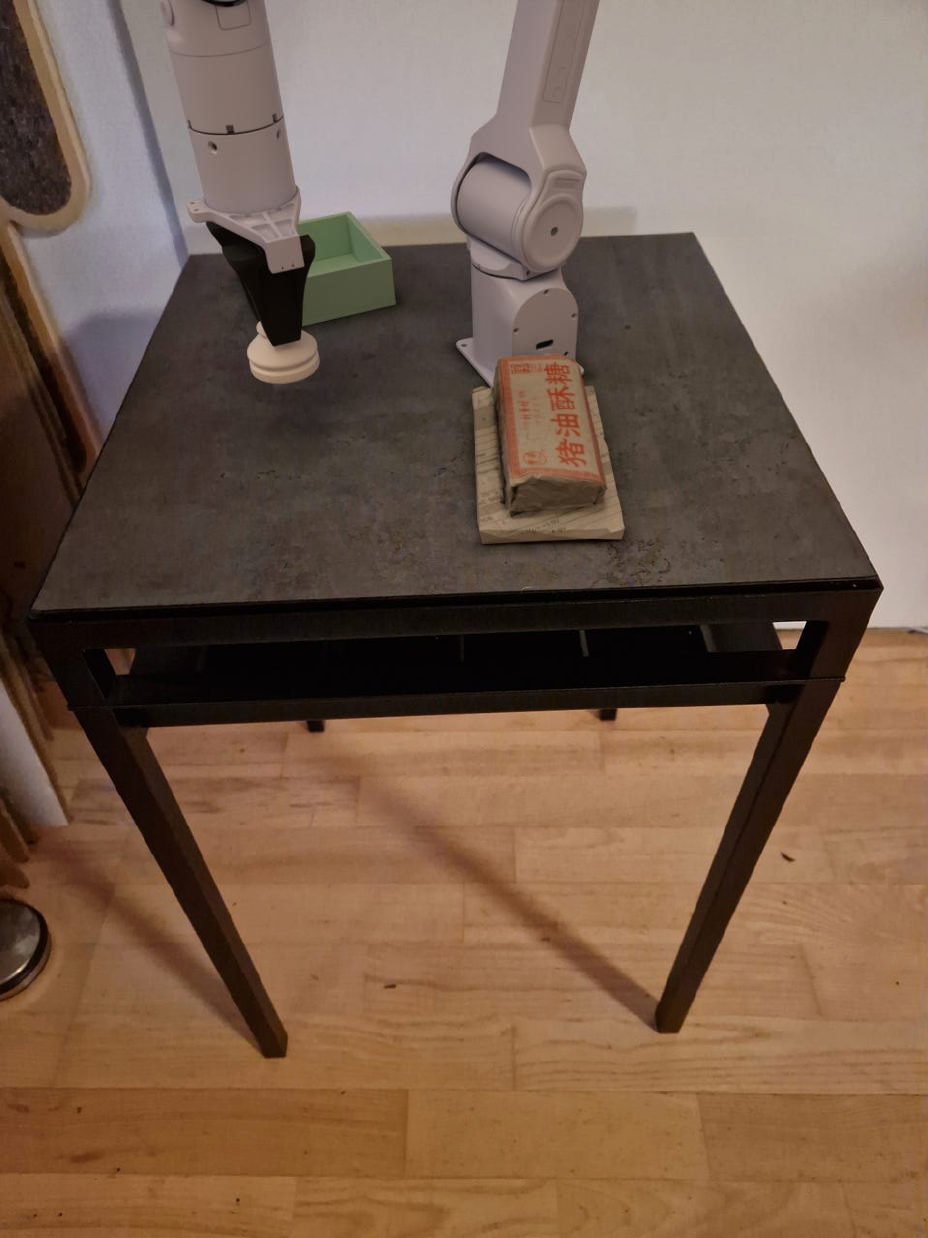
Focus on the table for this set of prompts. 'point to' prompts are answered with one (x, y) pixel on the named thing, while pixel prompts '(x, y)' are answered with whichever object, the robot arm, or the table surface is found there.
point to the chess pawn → (282, 358)
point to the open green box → (344, 270)
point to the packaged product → (542, 455)
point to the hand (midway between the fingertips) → (278, 329)
